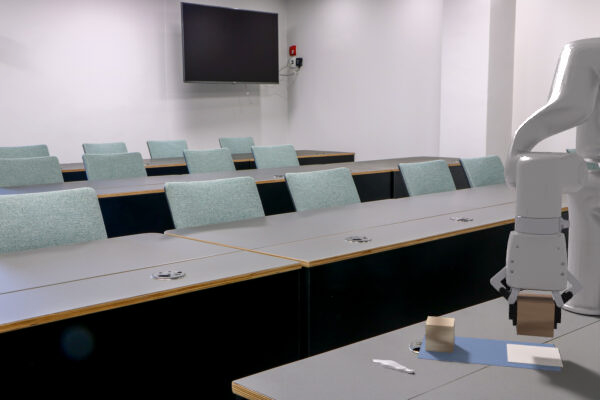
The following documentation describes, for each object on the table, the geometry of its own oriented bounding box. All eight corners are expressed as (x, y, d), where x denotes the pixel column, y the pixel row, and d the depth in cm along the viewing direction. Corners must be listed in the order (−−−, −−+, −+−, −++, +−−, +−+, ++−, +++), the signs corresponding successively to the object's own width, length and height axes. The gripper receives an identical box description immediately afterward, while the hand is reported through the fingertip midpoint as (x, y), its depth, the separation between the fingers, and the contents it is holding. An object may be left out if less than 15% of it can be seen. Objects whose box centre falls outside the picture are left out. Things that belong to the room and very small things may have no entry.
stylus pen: (418, 377, 107) (418, 366, 107) (409, 381, 105) (408, 371, 105) (353, 357, 118) (352, 348, 118) (343, 362, 116) (343, 352, 116)
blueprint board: (556, 349, 118) (556, 344, 118) (564, 377, 106) (564, 371, 105) (424, 338, 125) (424, 333, 125) (417, 363, 113) (417, 357, 113)
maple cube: (454, 343, 119) (454, 318, 119) (452, 353, 115) (453, 326, 114) (427, 341, 121) (428, 316, 120) (425, 350, 116) (425, 324, 115)
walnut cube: (553, 337, 108) (554, 304, 108) (516, 334, 110) (517, 301, 109) (550, 326, 114) (551, 294, 113) (515, 324, 116) (516, 292, 115)
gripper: (588, 224, 111) (583, 322, 113) (486, 220, 116) (484, 315, 118) (594, 231, 104) (589, 336, 106) (486, 227, 109) (483, 327, 111)
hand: (534, 324), depth 112 cm, fingers closed on walnut cube, 6 cm apart
